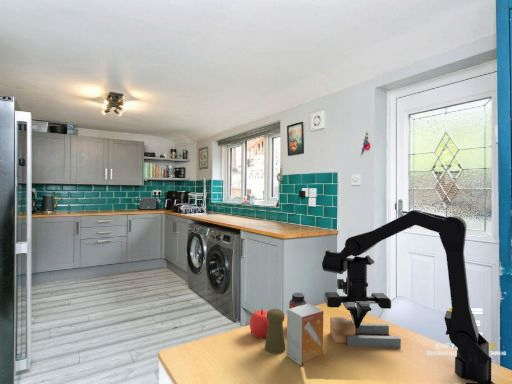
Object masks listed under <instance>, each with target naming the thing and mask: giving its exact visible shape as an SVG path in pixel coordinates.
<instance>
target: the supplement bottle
mask: <svg viewBox="0 0 512 384" xmlns="http://www.w3.org/2000/svg"><path fill="white" fill-rule="evenodd" d="M291 296H292V297H291V299H290V300H289V303H288V305H289V306H288V309H290V308H294V307H297V306H301V305H305V304H308V302H307V301H306V300H305V294H304V293H302V292H293V293H292V294H291Z"/></svg>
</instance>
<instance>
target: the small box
mask: <svg viewBox="0 0 512 384" xmlns="http://www.w3.org/2000/svg"><path fill="white" fill-rule="evenodd" d="M324 313H325V312H324V310H322V309H321V308H319V307H316V306H314V305H312V304H310V303H307V304H305V305H301V306H297V307H294V308H290V309H289V308H287V310H286V314H287V315H286V318H287V319H286V357H288V358H289V359H291V360H292V361H294V363H296V364H297V365H299V366H300V367H304V365H305V364H304V363H305V362H307V361H309V360H312V359H314V358H317V357H319V356H321V355H323V354H324V352H323V351H324V350H323V349H324Z"/></svg>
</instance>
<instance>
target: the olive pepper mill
mask: <svg viewBox="0 0 512 384" xmlns="http://www.w3.org/2000/svg"><path fill="white" fill-rule="evenodd" d="M267 311H268V312H267V320H268V329H267V336H266V337H265V343H264V344H265V345H264V350H265V351H266V352H267V353H269V354H273V355H280V354H283V353H285V352H286V351H287V347H286V342H285V333H284V332H285V331H284V323H283V322H284V321H285V313H284V310H282V309H279V308H271V309H269V310H267Z"/></svg>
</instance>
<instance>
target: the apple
mask: <svg viewBox="0 0 512 384" xmlns="http://www.w3.org/2000/svg"><path fill="white" fill-rule="evenodd" d="M268 311H269V310H263V309H260V310H256V311H254V312H253V314H252V315H251V316H250V319H249V323H248V324H249V329H250V333H251V334H252V335H253V336H255V337H256V338H260V339H264V338H265V339H266V336H267V329H268V320H267V312H268Z"/></svg>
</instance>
